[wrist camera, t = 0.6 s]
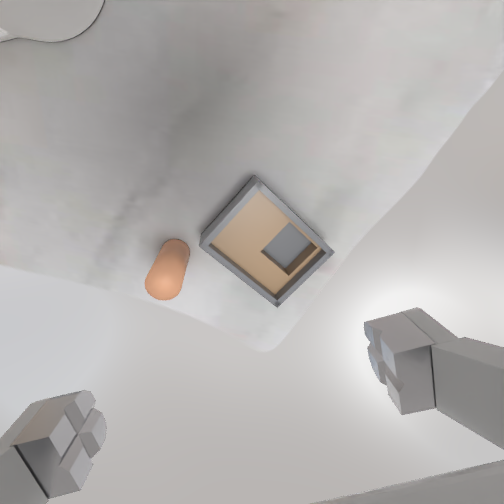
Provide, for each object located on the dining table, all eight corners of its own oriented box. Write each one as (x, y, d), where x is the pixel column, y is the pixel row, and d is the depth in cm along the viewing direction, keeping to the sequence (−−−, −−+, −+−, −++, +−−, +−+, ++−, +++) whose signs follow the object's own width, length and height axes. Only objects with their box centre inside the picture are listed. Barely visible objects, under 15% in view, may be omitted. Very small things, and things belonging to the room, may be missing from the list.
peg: (155, 253, 42) (137, 286, 33) (172, 233, 42) (159, 261, 32) (178, 270, 44) (166, 306, 34) (195, 250, 43) (188, 282, 34)
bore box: (201, 234, 42) (199, 246, 37) (254, 175, 40) (258, 180, 35) (271, 290, 46) (277, 307, 42) (322, 240, 44) (334, 252, 40)
